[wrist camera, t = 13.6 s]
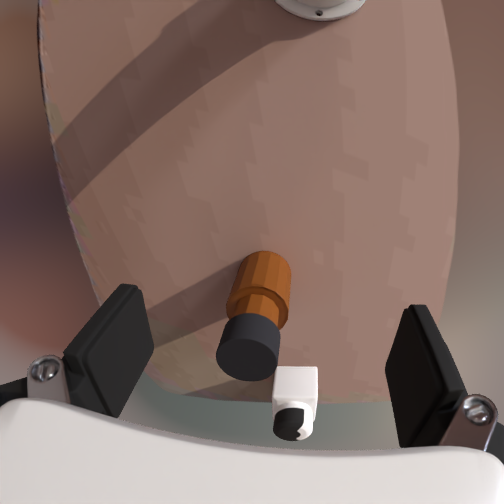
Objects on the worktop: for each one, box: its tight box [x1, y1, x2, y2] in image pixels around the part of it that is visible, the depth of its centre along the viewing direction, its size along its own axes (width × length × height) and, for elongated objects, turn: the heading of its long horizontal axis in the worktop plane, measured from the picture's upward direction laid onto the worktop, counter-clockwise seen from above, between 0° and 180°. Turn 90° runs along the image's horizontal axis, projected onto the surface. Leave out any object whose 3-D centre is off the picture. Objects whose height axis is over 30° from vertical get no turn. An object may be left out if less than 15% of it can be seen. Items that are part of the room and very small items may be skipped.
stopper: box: [216, 313, 280, 381], centre depth 33 cm, size 6×6×8 cm
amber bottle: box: [226, 251, 291, 330], centre depth 39 cm, size 7×7×13 cm
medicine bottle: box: [272, 366, 318, 441], centre depth 48 cm, size 7×7×12 cm
